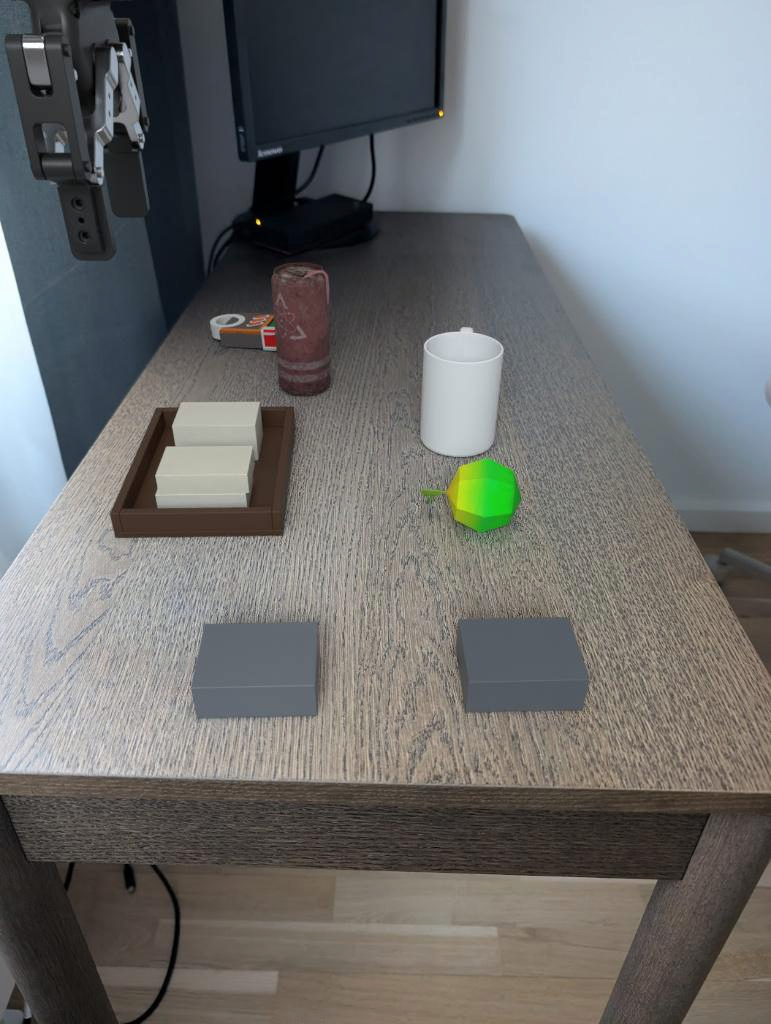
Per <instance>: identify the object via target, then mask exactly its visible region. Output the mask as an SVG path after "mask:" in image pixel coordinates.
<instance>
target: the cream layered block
mask: <svg viewBox="0 0 771 1024" xmlns="http://www.w3.org/2000/svg"><path fill="white" fill-rule="evenodd" d="M254 465H255V460H254V450H253V446H178V447H166V449H165V451H164V454H163V457H162V459H161V462H160V465H159V467H158V470H157V472H156V475H155V477H156V482H157V487H158V489H157V492H156V495H155V496H156V502H157V507H158V508H223V507H249V503H250V498H251V492H252V487H253V471H254Z"/></svg>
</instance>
